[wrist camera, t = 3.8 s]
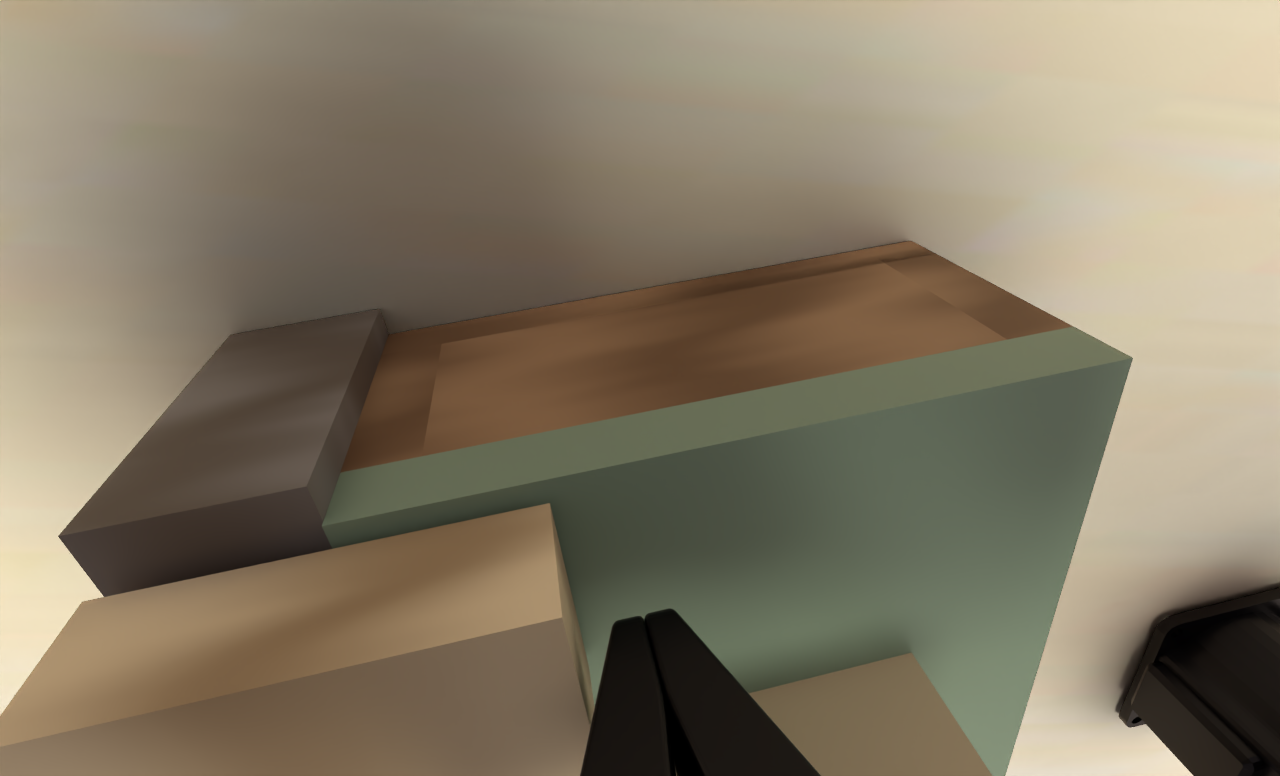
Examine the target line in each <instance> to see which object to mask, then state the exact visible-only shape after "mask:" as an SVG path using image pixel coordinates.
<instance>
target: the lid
mask: <svg viewBox="0 0 1280 776" xmlns="http://www.w3.org/2000/svg"><path fill="white" fill-rule="evenodd" d="M1132 359H1133V358H1132V357H1130V356H1128V355H1126V354H1124V353H1122V352H1120V351H1119V350H1117V349H1115V348H1113V347H1111V346H1109V345H1107V344H1105V343H1103V342H1102V341H1100V340H1098V339H1096V338H1094V337H1092V336H1090V335H1088V334H1086V333H1085V332H1083V331H1081V330H1079V329H1077V328H1075V327H1068V328H1063V329H1058V330H1053V331H1048V332H1043V333H1038V334H1033V335H1028V336H1023V337H1018V338H1013V339H1008V340H1003V341H998V342H993V343H988V344H983V345H978V346H973V347H968V348H963V349H958V350H953V351H948V352H943V353H938V354H933V355H928V356H923V357H918V358H913V359H908V360H903V361H898V362H893V363H888V364H883V365H878V366H873V367H868V368H863V369H858V370H852V371H847V372H842V373H837V374H832V375H827V376H822V377H817V378H812V379H807V380H802V381H797V382H792V383H787V384H782V385H777V386H772V387H767V388H762V389H757V390H752V391H747V392H742V393H737V394H732V395H727V396H722V397H717V398H712V399H707V400H702V401H697V402H692V403H687V404H682V405H677V406H672V407H667V408H662V409H657V410H652V411H647V412H642V413H637V414H632V415H627V416H622V417H617V418H612V419H607V420H602V421H597V422H592V423H587V424H582V425H577V426H572V427H567V428H562V429H557V430H552V431H547V432H542V433H537V434H532V435H527V436H522V437H517V438H512V439H506V440H501V441H496V442H491V443H486V444H481V445H476V446H471V447H466V448H461V449H456V450H451V451H446V452H441V453H436V454H431V455H426V456H421V457H416V458H411V459H406V460H401V461H396V462H391V463H386V464H381V465H376V466H371V467H366V468H361V469H356V470H351V471H346V472H341V473H340V475H339V478H338V481H337V484H336V487H335V490H334V492H333V495H332V498H331V501H330V504H329V507H328V510H327V512H326V515H325V518H324V521H323V524H322V528H323V530H324V532H325V534H326V536H327V538H328V540H329V543H330V545H331V547H332V549H334V548H339V547H344V546H349V545H353V544H358V543H363V542H367V541H372V540H377V539H382V538H386V537H391V536H396V535H401V534H405V533H410V532H415V531H419V530H424V529H429V528H434V527H438V526H443V525H448V524H453V523H457V522H462V521H467V520H472V519H476V518H481V517H486V516H490V515H495V514H500V513H505V512H509V511H514V510H519V509H524V508H528V507H533V506H538V505H542V504H547V503H550V506H551V510H552V514H553V518H554V522H555V527H556V531H557V535H558V539H559V543H560V548H561V552H562V556H563V560H564V564H565V569H566V573H567V577H568V581H569V585H570V590H571V594H572V598H573V602H574V606H575V611H576V615H577V619H578V623H579V627H580V632H581V636H582V640H583V644H584V648H585V652H586V657H587V661H588V665H589V671H590V678H591V685H592V692H593V699H594V707H595V703H596V699H597V694H598V689H599V685H600V680H601V675H602V671H603V666H604V661H605V657H606V652H607V647H608V643H609V638H610V633H611V629H612V626H613V624H614V622H615V621H617V620H621V619H625V618H630V617H634V616H641V617H642V618H643V619H644V618H645V616H646V614H648V613H651V612H655V611H659V610H664V609H668V608H671V609H674V610H675V611H676V612H677V613H678V614H679V615H680V616H681V617H682V618H683V619H684V621H685V622H686V623H687V624H688V625H689V626H690V627H691V628H692V630H693V631H694V632H695V633H696V634H697V635H698V636H699V638H700V639H701V640H702V641H703V642H704V643H705V644H706V645H707V647H708V648H709V649H710V650H711V651H712V652H713V653H714V655H715V656H716V657H717V658H718V659H719V660H720V661H721V663H722V664H723V665H724V666H725V667H726V668H727V669H728V670H729V672H730V673H731V674H732V675H733V676H734V677H735V678H736V680H737V681H738V682H739V683H740V684H741V685H742V686H743V688H744V689H745V690H746V691H747V692H748V693H749V694H750V695H751V697H752V698H753V699H754V700H755V701H756V702H757V703H758V705H759V706H760V707H761V708H762V709H763V710H764V711H765V713H766V714H767V715H768V716H769V717H770V718H771V719H772V720H773V722H774V723H775V724H776V725H777V726H778V727H779V728H780V730H781V731H782V732H783V733H784V734H785V735H786V736H787V737H788V739H789V740H790V741H791V742H792V743H793V744H794V745H795V747H796V748H797V749H798V750H799V751H800V752H801V753H802V755H803V756H804V757H805V758H806V759H807V760H808V761H809V762H810V764H811V765H812V766H813V767H814V768H815V769H816V770H817V772H818V773H819V774H820V775H821V776H1005V774H1006V771H1007V768H1008V765H1009V761H1010V758H1011V755H1012V751H1013V748H1014V745H1015V742H1016V738H1017V735H1018V732H1019V729H1020V725H1021V722H1022V719H1023V716H1024V712H1025V709H1026V706H1027V702H1028V699H1029V696H1030V693H1031V689H1032V686H1033V683H1034V680H1035V676H1036V673H1037V670H1038V666H1039V663H1040V660H1041V657H1042V653H1043V650H1044V647H1045V644H1046V640H1047V637H1048V634H1049V630H1050V627H1051V624H1052V621H1053V617H1054V614H1055V611H1056V608H1057V604H1058V601H1059V598H1060V595H1061V591H1062V588H1063V585H1064V581H1065V578H1066V575H1067V572H1068V568H1069V565H1070V562H1071V559H1072V555H1073V552H1074V549H1075V545H1076V542H1077V539H1078V536H1079V532H1080V529H1081V526H1082V523H1083V519H1084V516H1085V513H1086V509H1087V506H1088V503H1089V500H1090V496H1091V493H1092V490H1093V487H1094V483H1095V480H1096V477H1097V474H1098V470H1099V467H1100V464H1101V460H1102V457H1103V454H1104V451H1105V447H1106V444H1107V441H1108V438H1109V434H1110V431H1111V428H1112V424H1113V421H1114V418H1115V415H1116V411H1117V408H1118V405H1119V402H1120V398H1121V395H1122V392H1123V389H1124V385H1125V382H1126V379H1127V375H1128V372H1129V369H1130V366H1131V362H1132ZM676 776H677V775H676Z"/></svg>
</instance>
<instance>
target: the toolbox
mask: <svg viewBox="0 0 1280 776" xmlns="http://www.w3.org/2000/svg"><path fill="white" fill-rule="evenodd" d="M1068 327H1073V326H1071V325H1069V324H1067V323H1065V322H1064V321H1062V320H1060V319H1058V318H1056V317H1054V316H1052V315H1050V314H1048V313H1047V312H1045V311H1043V310H1041V309H1039V308H1037V307H1035V306H1033V305H1031V304H1030V303H1028V302H1026V301H1024V300H1022V299H1020V298H1018V297H1016V296H1014V295H1013V294H1011V293H1009V292H1007V291H1005V290H1003V289H1001V288H999V287H997V286H996V285H994V284H992V283H990V282H988V281H986V280H984V279H982V278H980V277H979V276H977V275H975V274H973V273H971V272H969V271H967V270H965V269H963V268H962V267H960V266H958V265H956V264H954V263H952V262H950V261H948V260H946V259H945V258H943V257H941V256H939V255H937V254H935V253H933V252H931V251H929V250H928V249H926V248H924V247H922V246H920V245H918V244H916V243H914V242H912V241H907V242H902V243H896V244H891V245H885V246H879V247H874V248H868V249H863V250H857V251H851V252H846V253H840V254H835V255H829V256H824V257H818V258H812V259H807V260H801V261H796V262H790V263H785V264H779V265H773V266H768V267H762V268H757V269H751V270H745V271H740V272H734V273H729V274H723V275H718V276H712V277H706V278H701V279H695V280H690V281H684V282H679V283H673V284H667V285H662V286H656V287H651V288H645V289H639V290H634V291H628V292H623V293H617V294H612V295H606V296H600V297H595V298H589V299H584V300H578V301H573V302H567V303H561V304H556V305H550V306H545V307H539V308H533V309H528V310H522V311H517V312H511V313H506V314H500V315H494V316H489V317H483V318H478V319H472V320H467V321H461V322H455V323H450V324H444V325H439V326H433V327H427V328H422V329H416V330H411V331H405V332H400V333H394V334H388V331H387V328H386V325H385V322H384V319H383V317H382V314H381V311H380V309H376V310H370V311H364V312H358V313H353V314H347V315H341V316H336V317H330V318H324V319H318V320H313V321H307V322H301V323H296V324H290V325H284V326H278V327H273V328H267V329H261V330H256V331H250V332H244V333H238V334H233V335H230V336H229V337H228V338H227V340H226V341H225V342H224V343H223V344H222V345H221V347H220V348H219V349H218V350H217V351H216V352H215V354H214V355H213V356H212V357H211V358H210V359H209V361H208V362H207V363H206V364H205V365H204V366H203V368H202V369H201V370H200V371H199V372H198V374H197V375H196V376H195V377H194V378H193V379H192V381H191V382H190V383H189V384H188V385H187V386H186V388H185V389H184V390H183V391H182V392H181V393H180V395H179V396H178V397H177V398H176V399H175V400H174V402H173V403H172V404H171V405H170V406H169V407H168V409H167V410H166V411H165V412H164V413H163V414H162V416H161V417H160V418H159V419H158V420H157V421H156V423H155V424H154V425H153V426H152V427H151V428H150V430H149V431H148V432H147V433H146V434H145V435H144V437H143V438H142V439H141V440H140V441H139V442H138V444H137V445H136V446H135V447H134V448H133V449H132V451H131V452H130V453H129V454H128V455H127V456H126V458H125V459H124V460H123V461H122V462H121V463H120V465H119V466H118V467H117V468H116V469H115V470H114V472H113V473H112V474H111V475H110V476H109V477H108V479H107V480H106V481H105V482H104V483H103V484H102V486H101V487H100V488H99V489H98V490H97V491H96V493H95V494H94V495H93V496H92V497H91V499H90V500H89V501H88V502H87V503H86V504H85V506H84V507H83V508H82V509H81V510H80V511H79V513H78V514H77V515H76V516H75V517H74V518H73V520H72V521H71V522H70V523H69V524H68V525H67V527H66V528H65V529H64V530H63V531H62V532H61V534H60V535H59V536H58V537H59V538H60V539H61V541H62V542H63V543H64V545H65V546H66V547H67V549H68V550H69V551H70V553H71V554H72V555H73V556H74V558H75V559H76V560H77V562H78V563H79V564H80V566H81V567H82V568H83V570H84V571H85V572H86V574H87V575H88V576H89V577H90V579H91V580H92V581H93V583H94V584H95V585H96V587H97V588H98V589H99V591H100V592H101V593H102V595H103V596H104V597H107V596H112V595H117V594H121V593H126V592H131V591H136V590H140V589H145V588H150V587H155V586H159V585H164V584H169V583H173V582H178V581H183V580H188V579H192V578H197V577H202V576H207V575H211V574H216V573H221V572H226V571H230V570H235V569H240V568H244V567H249V566H254V565H259V564H263V563H268V562H273V561H278V560H282V559H287V558H292V557H296V556H301V555H306V554H311V553H315V552H320V551H325V550H330V549H332V547H331V545H330V543H329V540H328V538H327V536H326V534H325V532H324V530H323V528H322V524H323V521H324V518H325V515H326V512H327V510H328V507H329V504H330V501H331V498H332V495H333V492H334V490H335V487H336V484H337V481H338V478H339V475H340V473H341V472H346V471H351V470H356V469H361V468H366V467H371V466H376V465H381V464H386V463H391V462H396V461H401V460H406V459H411V458H416V457H421V456H426V455H431V454H436V453H441V452H446V451H451V450H456V449H461V448H466V447H471V446H476V445H481V444H486V443H491V442H496V441H501V440H506V439H512V438H517V437H522V436H527V435H532V434H537V433H542V432H547V431H552V430H557V429H562V428H567V427H572V426H577V425H582V424H587V423H592V422H597V421H602V420H607V419H612V418H617V417H622V416H627V415H632V414H637V413H642V412H647V411H652V410H657V409H662V408H667V407H672V406H677V405H682V404H687V403H692V402H697V401H702V400H707V399H712V398H717V397H722V396H727V395H732V394H737V393H742V392H747V391H752V390H757V389H762V388H767V387H772V386H777V385H782V384H787V383H792V382H797V381H802V380H807V379H812V378H817V377H822V376H827V375H832V374H837V373H842V372H847V371H852V370H858V369H863V368H868V367H873V366H878V365H883V364H888V363H893V362H898V361H903V360H908V359H913V358H918V357H923V356H928V355H933V354H938V353H943V352H948V351H953V350H958V349H963V348H968V347H973V346H978V345H983V344H988V343H993V342H998V341H1003V340H1008V339H1013V338H1018V337H1023V336H1028V335H1033V334H1038V333H1043V332H1048V331H1053V330H1058V329H1063V328H1068Z"/></svg>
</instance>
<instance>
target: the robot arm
mask: <svg viewBox="0 0 1280 776" xmlns="http://www.w3.org/2000/svg"><path fill="white" fill-rule="evenodd" d="M1119 718H1120V719H1121V720H1122V721H1123V722H1124V723H1125V724H1126V725H1127V727H1136V726H1139V725H1143V724H1146V725H1147V726H1148V727H1149V728H1150V729H1151V730H1152V731H1153V732H1154V733H1155V734H1156V735H1157V736H1158V738H1159V739H1160V740H1161V741H1162V742H1163V743H1164V744H1165V745H1166V746H1167V747H1168V748H1169V749H1170V751H1171V752H1172V753H1173V754H1174V755H1175V756H1176V757H1177V758H1178V759H1179V760H1180V761H1181V762H1182V764H1183V765H1184V766H1185V767H1186V768H1187V769H1188V770H1189V771H1190V772H1191V773H1192V774H1193V775H1194V776H1280V588H1278V589H1274V590H1270V591H1266V592H1262V593H1258V594H1254V595H1250V596H1247V597H1243V598H1239V599H1235V600H1231V601H1227V602H1223V603H1219V604H1215V605H1211V606H1207V607H1204V608H1200V609H1196V610H1192V611H1188V612H1184V613H1180V614H1176V615H1172V616H1169V617H1167V618H1165V619H1164V620H1162V621H1161V622H1160V623H1159V624H1158V625H1157V627H1156V629H1155V631H1154V634H1153V636H1152V638H1151V641H1150V643H1149V645H1148V648H1147V650H1146V652H1145V655H1144V657H1143V659H1142V662H1141V664H1140V666H1139V669H1138V671H1137V673H1136V676H1135V678H1134V680H1133V683H1132V685H1131V687H1130V690H1129V692H1128V694H1127V697H1126V699H1125V701H1124V704H1123V706H1122V708H1121V711H1120V713H1119ZM676 775H677V776H821V775H820V774H819V773H818V772H817V770H816V769H815V768H814V767H813V766H812V765H811V764H810V762H809V761H808V760H807V759H806V758H805V757H804V756H803V755H802V753H801V752H800V751H799V750H798V749H797V748H796V747H795V745H794V744H793V743H792V742H791V741H790V740H789V739H788V737H787V736H786V735H785V734H784V733H783V732H782V731H781V730H780V728H779V727H778V726H777V725H776V724H775V723H774V722H773V720H772V719H771V718H770V717H769V716H768V715H767V714H766V713H765V711H764V710H763V709H762V708H761V707H760V706H759V705H758V703H757V702H756V701H755V700H754V699H753V698H752V697H751V695H750V694H749V693H748V692H747V691H746V690H745V689H744V688H743V686H742V685H741V684H740V683H739V682H738V681H737V680H736V678H735V677H734V676H733V675H732V674H731V673H730V672H729V670H728V669H727V668H726V667H725V666H724V665H723V664H722V663H721V661H720V660H719V659H718V658H717V657H716V656H715V655H714V653H713V652H712V651H711V650H710V649H709V648H708V647H707V645H706V644H705V643H704V642H703V641H702V640H701V639H700V638H699V636H698V635H697V634H696V633H695V632H694V631H693V630H692V628H691V627H690V626H689V625H688V624H687V623H686V622H685V621H684V619H683V618H682V617H681V616H680V615H679V614H678V613H677V612H676V611H675V610H674V609H671V608H668V609H664V610H659V611H655V612H651V613H648V614H646V616H645V618H644V619H643V618H642V617H641V616H634V617H630V618H625V619H621V620H617V621H615V622H614V624H613V626H612V629H611V633H610V638H609V643H608V647H607V652H606V657H605V661H604V666H603V671H602V675H601V680H600V685H599V689H598V694H597V699H596V703H595V708H594V713H593V717H592V722H591V727H590V731H589V736H588V741H587V745H586V750H585V755H584V759H583V764H582V769H581V773H580V776H676Z"/></svg>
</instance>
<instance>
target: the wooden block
mask: <svg viewBox="0 0 1280 776" xmlns="http://www.w3.org/2000/svg"><path fill="white" fill-rule="evenodd" d="M594 708H595V707H594V699H593V692H592V685H591V678H590V671H589V665H588V661H587V657H586V652H585V648H584V644H583V640H582V636H581V632H580V627H579V623H578V619H577V615H576V611H575V606H574V602H573V598H572V594H571V590H570V585H569V581H568V577H567V573H566V569H565V564H564V560H563V556H562V552H561V548H560V543H559V539H558V535H557V531H556V527H555V522H554V518H553V514H552V510H551V506H550V503H547V504H542V505H538V506H533V507H528V508H524V509H519V510H514V511H509V512H505V513H500V514H495V515H490V516H486V517H481V518H476V519H472V520H467V521H462V522H457V523H453V524H448V525H443V526H438V527H434V528H429V529H424V530H419V531H415V532H410V533H405V534H401V535H396V536H391V537H386V538H382V539H377V540H372V541H367V542H363V543H358V544H353V545H349V546H344V547H339V548H334V549H330V550H325V551H320V552H315V553H311V554H306V555H301V556H296V557H292V558H287V559H282V560H278V561H273V562H268V563H263V564H259V565H254V566H249V567H244V568H240V569H235V570H230V571H226V572H221V573H216V574H211V575H207V576H202V577H197V578H192V579H188V580H183V581H178V582H173V583H169V584H164V585H159V586H155V587H150V588H145V589H140V590H136V591H131V592H126V593H121V594H117V595H112V596H107V597H103V598H98V599H93V600H88V601H84V602H82V603H81V604H80V606H79V607H78V608H77V610H76V611H75V613H74V614H73V615H72V617H71V618H70V619H69V621H68V622H67V624H66V625H65V626H64V628H63V629H62V631H61V632H60V633H59V635H58V636H57V638H56V639H55V640H54V642H53V643H52V645H51V646H50V647H49V649H48V650H47V652H46V653H45V654H44V656H43V657H42V658H41V660H40V661H39V663H38V664H37V665H36V667H35V668H34V670H33V671H32V672H31V674H30V675H29V677H28V678H27V679H26V681H25V682H24V684H23V685H22V686H21V688H20V689H19V691H18V692H17V693H16V695H15V696H14V697H13V699H12V700H11V702H10V703H9V704H8V706H7V707H6V709H5V710H4V711H3V713H2V714H1V716H0V776H580V773H581V769H582V764H583V759H584V755H585V750H586V745H587V741H588V736H589V731H590V727H591V722H592V717H593V713H594Z"/></svg>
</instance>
